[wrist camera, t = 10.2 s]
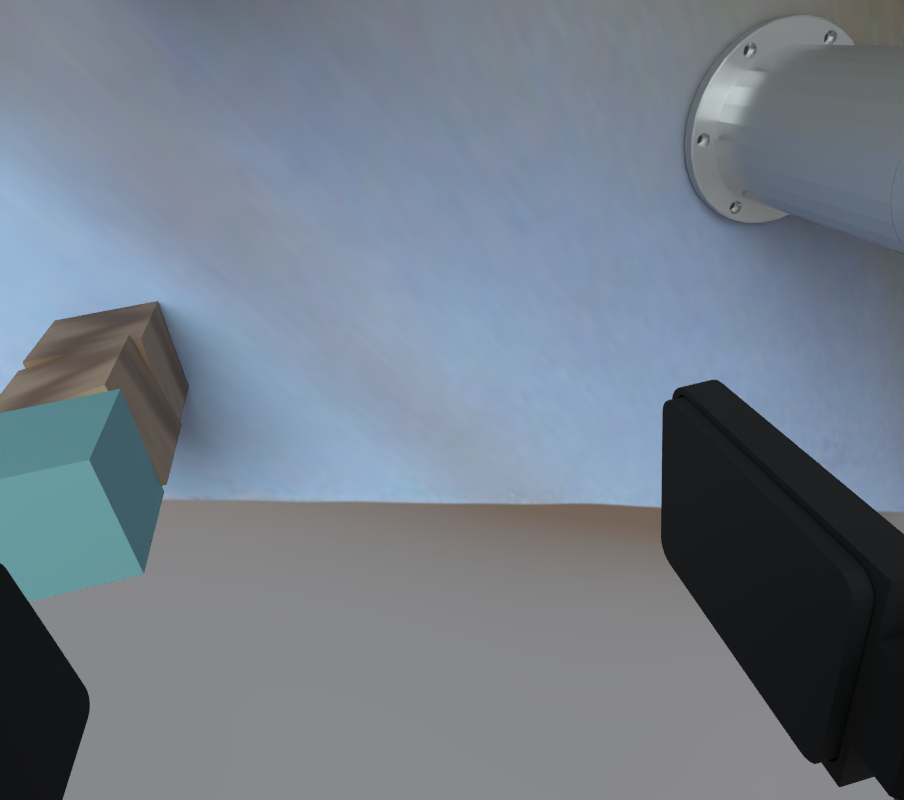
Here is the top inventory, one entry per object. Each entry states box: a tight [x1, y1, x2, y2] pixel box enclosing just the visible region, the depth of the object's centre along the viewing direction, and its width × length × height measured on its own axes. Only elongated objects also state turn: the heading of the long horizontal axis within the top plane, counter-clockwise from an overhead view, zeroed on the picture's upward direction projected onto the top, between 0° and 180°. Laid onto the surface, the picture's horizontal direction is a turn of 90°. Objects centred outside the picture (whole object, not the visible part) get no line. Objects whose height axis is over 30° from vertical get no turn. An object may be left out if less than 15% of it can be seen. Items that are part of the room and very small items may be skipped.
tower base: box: [23, 301, 189, 421], centre depth 39 cm, size 6×6×6 cm
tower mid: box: [0, 334, 181, 486], centre depth 34 cm, size 6×6×6 cm
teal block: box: [0, 389, 164, 602], centre depth 29 cm, size 6×6×6 cm
